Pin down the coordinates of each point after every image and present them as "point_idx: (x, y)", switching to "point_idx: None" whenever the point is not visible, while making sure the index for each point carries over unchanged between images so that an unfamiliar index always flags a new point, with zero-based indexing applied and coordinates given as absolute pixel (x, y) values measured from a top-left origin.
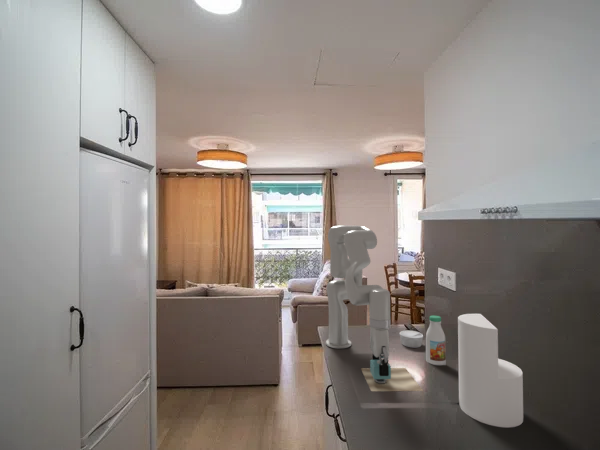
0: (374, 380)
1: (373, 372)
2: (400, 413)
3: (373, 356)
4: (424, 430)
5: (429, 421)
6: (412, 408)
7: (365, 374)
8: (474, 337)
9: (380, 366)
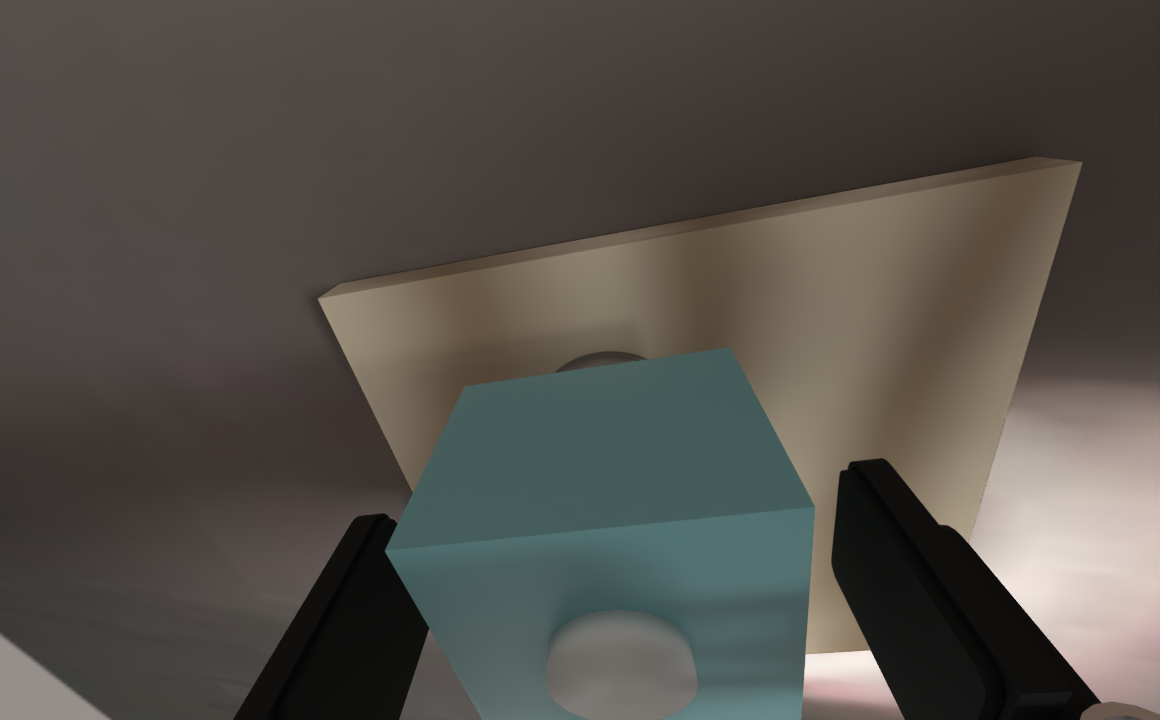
0: (591, 360)
1: (485, 433)
2: (147, 489)
3: (940, 620)
4: (43, 576)
5: (166, 612)
6: (270, 564)
7: (815, 241)
8: None
9: (266, 694)
